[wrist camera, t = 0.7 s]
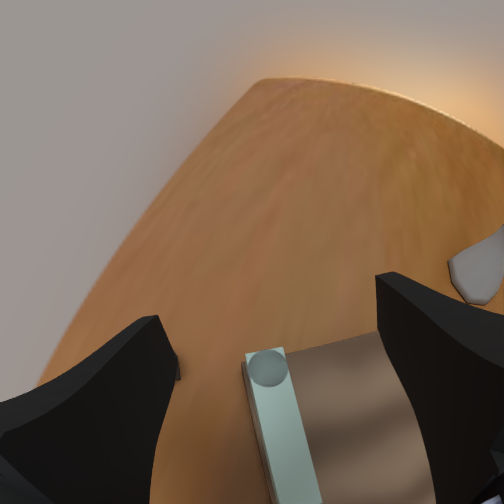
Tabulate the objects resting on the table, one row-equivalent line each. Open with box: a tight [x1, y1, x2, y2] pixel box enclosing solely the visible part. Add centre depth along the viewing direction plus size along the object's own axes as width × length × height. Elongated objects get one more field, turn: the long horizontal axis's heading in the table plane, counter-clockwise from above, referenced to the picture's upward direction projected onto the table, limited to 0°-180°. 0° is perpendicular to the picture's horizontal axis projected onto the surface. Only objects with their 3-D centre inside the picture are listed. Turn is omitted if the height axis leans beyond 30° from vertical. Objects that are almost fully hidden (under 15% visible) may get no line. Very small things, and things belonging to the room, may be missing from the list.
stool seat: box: [241, 331, 436, 504], centre depth 20 cm, size 16×16×2 cm
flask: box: [448, 224, 504, 305], centre depth 26 cm, size 7×7×10 cm
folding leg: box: [245, 347, 323, 504], centre depth 18 cm, size 11×3×2 cm, turn 12°
